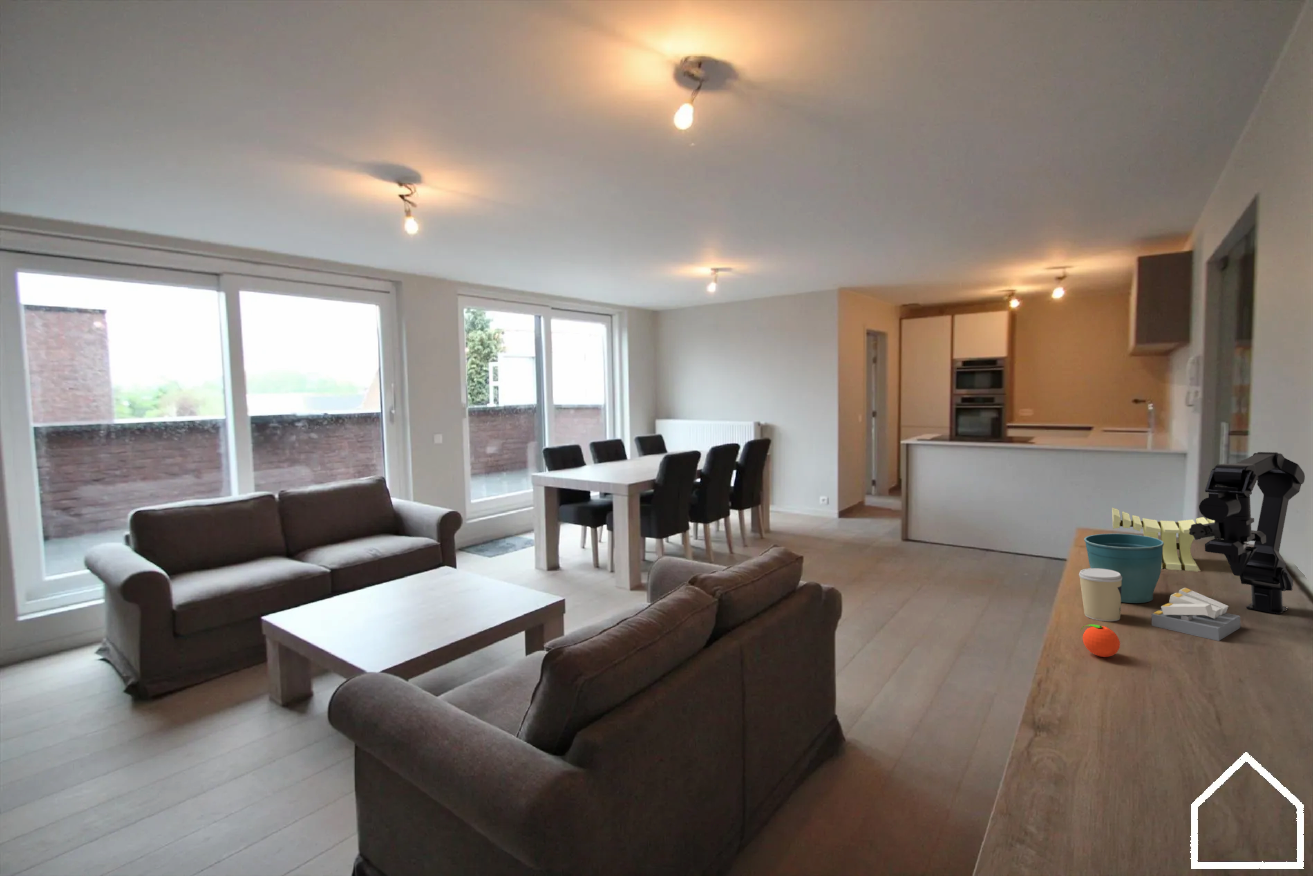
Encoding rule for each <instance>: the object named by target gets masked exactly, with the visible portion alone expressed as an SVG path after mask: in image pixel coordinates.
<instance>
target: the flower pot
mask: <svg viewBox="0 0 1313 876" xmlns="http://www.w3.org/2000/svg"><path fill="white" fill-rule="evenodd" d="M1083 540H1084V542H1085V547H1086V552H1087V559H1088V564H1089V568H1099V569H1108V570H1113V571H1116V572H1118V573H1120V574H1121V576H1122V580H1121V581H1122V584H1121V603H1128V604H1142V603H1143V604H1144V603H1148V602H1151V601H1153V599H1154V592H1155V589H1156V586H1157V583H1158V582H1159V579H1160V576H1161V572H1162V569H1161V566H1162V563H1163V560H1162V553H1163V545H1164V542H1163V541H1161V539H1160V538H1158V539H1157V538H1153V537H1148V536H1144V535H1140V534H1131V533H1100V534H1099V533H1098V534H1092V535H1087V536H1085V537H1084V538H1083Z"/></svg>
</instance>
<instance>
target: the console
mask: <svg viewBox="0 0 1313 876" xmlns="http://www.w3.org/2000/svg"><path fill="white" fill-rule="evenodd" d="M1150 616H1151V626H1152V627H1154V628H1155V627H1156V628H1160V629H1165V630H1170V631H1174V632H1177V633H1183V634H1187V635H1191V636H1195V637H1199V638H1204V639H1209V640H1212V641H1217V642H1220V641H1221V640H1223V639H1224V638H1226V637H1228V636H1230V635H1231V634H1233V633H1235V632H1236V631H1237V630H1239V629H1241V616H1240V615H1238V614H1233V613H1229V612H1226V613H1225V614H1223V615H1221V616H1220V615H1219V616H1218V617H1216V618H1211V617H1209V616H1206V615H1164V614H1163V611H1162V608H1161V609H1158V610H1157V611H1154V612H1153V613H1151V615H1150Z"/></svg>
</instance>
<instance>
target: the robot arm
mask: <svg viewBox="0 0 1313 876" xmlns="http://www.w3.org/2000/svg"><path fill="white" fill-rule="evenodd" d="M1305 480H1306V477H1305V472H1304V470H1303V469H1302V467H1301V466H1300V465H1299V464H1298V463H1297V462H1294V461H1292V460H1291V459H1287V457H1285V456H1284V454H1283V453H1279V452H1276V451H1275V452H1271V451H1270V452H1269V451H1258V452H1254V453H1253V454H1252V455H1251V456H1249V457H1247V458H1245V459H1243V460H1240V461H1237V462H1236V463H1235V462H1234V463H1219V464H1216V465H1215V466H1214V467H1213V468H1212V469H1211V471H1210V473H1209V476H1208V481H1207V482H1206V483H1207V484H1206V486H1205V489H1204V492H1205V493H1208V496H1207V497H1206V498H1204V499H1202V500H1201V501H1200V503H1199V505H1198V510H1199V512H1200V514H1201V515H1202V517H1204V518H1205V519H1207V518H1208V519H1210V520H1215V522H1214V523H1208V524H1201V523H1198V524H1192V525H1191V528H1190V529H1189V530H1190V532H1189V534H1190V535H1193V536H1194V540H1196V541H1197V540H1201V539H1204V538H1210V537H1214V538H1212V539H1211V540H1208V541H1207V542H1206V543H1204V551H1205V552H1206V553H1211V554H1212V553H1213V554H1219V555H1224V556H1225V557H1226V558H1225V559H1226V560H1227V562H1228V564H1229V567H1230V569H1231V572H1232V574H1233V575H1234V576H1237V577H1239V579H1240V580H1239V581H1240V584H1242V585H1247V586H1250V590H1251V591H1250V592H1251V593H1250V594H1251V603H1249V604H1248V605H1246V606H1245V607H1246V609H1249V610H1254V611H1259V612H1265V613H1270V614H1275V613H1276V615H1281V614H1280V613H1282V612H1283V611H1285V610H1286V609H1288V610H1289V607H1288V608H1286V607H1287V606H1284V604H1283V592H1287V591H1288V592H1289V591H1293V587H1294V580H1293V578H1292V575H1290V572H1289V571H1288V569H1287V567H1286V566H1287V564H1286V561H1285V560H1284V558H1283V556H1282V555H1281V554H1280V549H1281V544H1282V539H1283V533H1284V527H1285V522H1286V516H1287V511H1288V506H1289V501H1290V500H1291V499H1292V498H1293V497H1294V496H1296V495H1297V494H1298V493H1300V491H1301V486H1302V485H1303V484H1304V483H1305ZM1256 483H1257V484H1256ZM1255 485H1257V487H1258V488H1259V490H1260V491H1261V493H1262V494H1263V495H1262V496H1263V498H1262V502H1261V507H1260V512H1259V516H1258V517H1259V518H1258V523H1257V526H1256V527H1257V528H1256V530H1253V529H1252V523H1255V518H1254V517H1252V514H1251V511H1252V510H1251V495H1252V493H1253V490H1254V487H1255ZM1249 542H1254V543H1253V546H1250V543H1249ZM1286 611H1287V610H1286ZM1286 611H1285V612H1286ZM1283 613H1284V612H1283ZM1283 613H1282V614H1283Z"/></svg>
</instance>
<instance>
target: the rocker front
mask: <svg viewBox="0 0 1313 876" xmlns="http://www.w3.org/2000/svg"><path fill="white" fill-rule="evenodd" d="M1160 608H1161V609H1162V611H1163V614H1164V615H1209V614H1211V613H1213V609H1212V606H1211V604H1173V603H1170V602H1168V603H1165V604H1163V605H1161V606H1160Z"/></svg>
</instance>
